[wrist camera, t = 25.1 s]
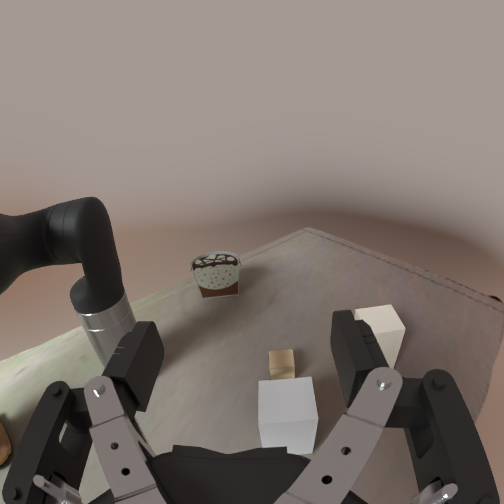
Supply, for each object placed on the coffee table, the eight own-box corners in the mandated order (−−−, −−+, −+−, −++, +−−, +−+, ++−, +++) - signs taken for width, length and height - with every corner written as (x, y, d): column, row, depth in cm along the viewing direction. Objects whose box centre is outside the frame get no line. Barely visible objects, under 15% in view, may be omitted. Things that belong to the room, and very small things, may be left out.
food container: (244, 282, 76) (239, 247, 72) (245, 294, 70) (240, 258, 66) (198, 287, 76) (191, 253, 71) (196, 299, 70) (188, 264, 66)
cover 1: (264, 456, 31) (258, 423, 27) (263, 420, 37) (258, 380, 33) (312, 453, 31) (318, 418, 27) (307, 416, 37) (311, 376, 33)
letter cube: (270, 383, 44) (269, 367, 43) (270, 365, 48) (268, 350, 46) (294, 381, 44) (294, 365, 42) (292, 363, 48) (292, 348, 46)
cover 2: (357, 378, 42) (366, 335, 38) (349, 352, 48) (355, 309, 44) (392, 371, 42) (405, 328, 38) (381, 347, 48) (391, 304, 44)
